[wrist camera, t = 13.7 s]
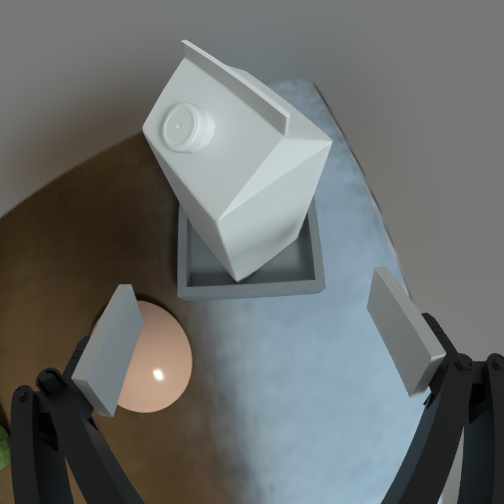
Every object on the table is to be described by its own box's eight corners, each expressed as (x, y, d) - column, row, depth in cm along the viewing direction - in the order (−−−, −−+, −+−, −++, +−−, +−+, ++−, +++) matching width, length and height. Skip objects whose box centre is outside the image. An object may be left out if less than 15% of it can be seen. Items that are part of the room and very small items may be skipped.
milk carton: (250, 187, 29) (243, 16, 11) (297, 239, 28) (354, 82, 9) (193, 228, 28) (114, 76, 10) (237, 285, 26) (198, 171, 8)
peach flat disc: (77, 366, 25) (73, 367, 24) (123, 280, 28) (120, 279, 27) (160, 431, 23) (157, 433, 22) (214, 341, 26) (213, 341, 25)
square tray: (185, 300, 27) (177, 296, 24) (187, 182, 31) (181, 169, 28) (318, 293, 27) (325, 288, 24) (304, 175, 31) (307, 161, 28)
